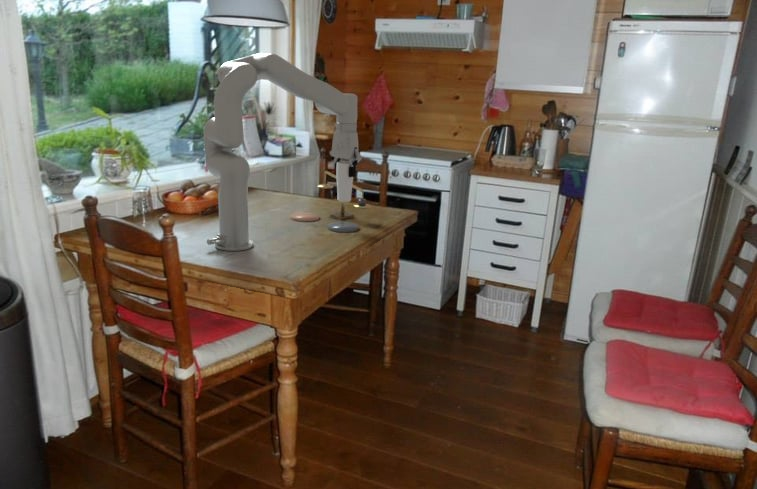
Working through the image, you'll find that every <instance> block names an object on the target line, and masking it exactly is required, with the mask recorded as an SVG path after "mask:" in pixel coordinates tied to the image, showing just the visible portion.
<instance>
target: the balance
mask: <svg viewBox="0 0 757 489" xmlns="http://www.w3.org/2000/svg"><path fill="white" fill-rule="evenodd" d="M326 175H328V176H330V177H332V178H334V179H336V174H333V173H332V172H330V171H328V170H324V183H319V184H317V185H316V188H318V189H326V190H330V189H333V188H334V185H333V184H330V183H329V184H328V183H326V180H327V179H326V178H327V176H326ZM336 180H337V179H336ZM352 189H355V190H357V191H359V192H361V198H359V199H358V200H357V202H358V203H354V204H352V207H353V208H355V209H361V210H364V209H365V210H367V209H370V208H371V204H369V203H367V199H366V198H364V189H363V188H361V187H359V186H357V185H355V184H353V185H352ZM339 209H340V210H339V212H337V213H331V214H330V218H331V219H335V220H339V221H343V220H347V219H348V220H349V219H352V218H355V214H353V213H350V212H345V211H346V202H340V208H339Z"/></svg>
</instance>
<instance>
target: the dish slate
mask: <svg viewBox="0 0 757 489" xmlns="http://www.w3.org/2000/svg"><path fill="white" fill-rule="evenodd" d="M327 229H328V230H330V231H332V232H335V233H354V232H357V231H358V230H359V225H358V224H356V223H354V222H348V221H334V222H330V223H328V224H327Z"/></svg>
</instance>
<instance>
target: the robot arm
mask: <svg viewBox="0 0 757 489" xmlns="http://www.w3.org/2000/svg"><path fill="white" fill-rule="evenodd" d="M217 79H218V81H219V84H218V86H217V88H216V91H215V93H214V99H213V105H214V106H213V110H214V111H213V112H214V115H213V116H214V117H211V118H210V119H209V120H207V122H206V123H205V125H204V127H203V144H204V146H203V148H204V154H205V155H204V156H205V164H206V167H207V170H208V171H209V173H210V174H211V175H212V176H215V177H216V178H218V179H219V180H220V181H219V185H218V191H217V194H218V195H217V198H218V199H217V200H218V219H219V220H218V224H219V227H218V228H219V233H216V236H214V237H212V238H208V239H207V240H206V244H207V245H208V246H210V245H215V248H216V249H218V250H221V251H224V252H225V251H226V252H239V251H241V252H242V251H246V250H249V249H251V248H252V247H254V241H253V240H252V239H250V238H249V237H250V236H249V235H250V234H249V231H250V230H249V197H248V196H249V194H248V193H249V192H248V191H249V190H248V189H249V180H250V175H251V174H250V173H251V171H250V170H251V169H250V168H251V167H250V164H249V162H248V160H247V159H246V158H245V157H244V156H243V155H241V154H239V153H236V152H233V150H234V149H237V148H240V147H241V145H242V144H243V142H244V137H245V136H244V123H243V122H244V120H243V101H244V98H245V96H246V95H247V93H248V92H249V91H250V90H252V88H254V87H255V85H256V83H257V81H260V80H265V81H268V82H271V83H272V84H274V85H276V86H277V87H279V88H281V89H282V90H284V91H286V92H287V93H289V94H290V95H292V96H295V97H297V98H300V99H303V100H306V101H310V102H313V103H314V106H315V108H316V109H317V111H319V112H320V113H322V114H328V115H335V116H336V123H335V130H334V132H333V137H332V144H331V145H332V146H331V150H329V155H330V157H331V159H332V161H333V164H334V168H333V169H334V170H333V171H334V175H336V165H337V162H338V161H342V159H343V160H346V161H347V160H348V161H349V163H350V167H349V177H353V178H355V177H356V173H357V170H356V168H357V166H358V165H359V164H360V161H362V159H363V157H362V155H361V152H359V136H358V132H357V125H358V124H357V122H358V121H357V119H358V96H357V94H355V93H346V92H345V93H344V92H342V91H341V90H339V89H338V88H335V87H334V86H333V85H331V84H330V83H328V82H325V81H323V80H322V79H321V80H320V79H318V78H317V77H315V76H313V75H310V74H308V73H306V72H305V71H303V70H301V69H300V68H299V67H297V66H295V65H293V63H290V62H289V61H288V60H286V59H284V58H283V57H281V56H279V55H278V54H275V53H270V52H264V53H263V52H259V53H255V54H251V55H248V56H245V57H244V56H243V57H241V58H236V59H233V60H230V61H226V62H224V63H223V64H222V65H220V67H219V68H218V69H217Z"/></svg>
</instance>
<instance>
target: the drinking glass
mask: <svg viewBox="0 0 757 489" xmlns="http://www.w3.org/2000/svg"><path fill="white" fill-rule="evenodd" d="M349 167H350V163H349V160H348V161H347V160H341V161H338V162H337V165H336V174H335V175H336V193H337V195H336V197H337V198H336V199H337V201H338V202H340V203H341V202H345V203H349V202H351V201H352V192H353V187H352V185H354V184H353V183H354V177H349Z"/></svg>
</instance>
